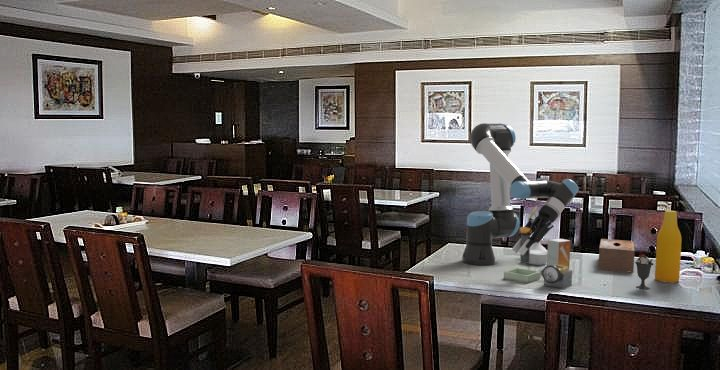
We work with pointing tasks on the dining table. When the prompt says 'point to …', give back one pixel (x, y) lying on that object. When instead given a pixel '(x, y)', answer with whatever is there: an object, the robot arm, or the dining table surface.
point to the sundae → (643, 269)
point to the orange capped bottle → (524, 236)
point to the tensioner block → (557, 276)
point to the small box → (558, 252)
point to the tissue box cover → (616, 255)
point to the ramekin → (538, 257)
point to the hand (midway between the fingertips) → (517, 252)
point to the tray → (522, 275)
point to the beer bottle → (668, 249)
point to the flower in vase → (536, 245)
